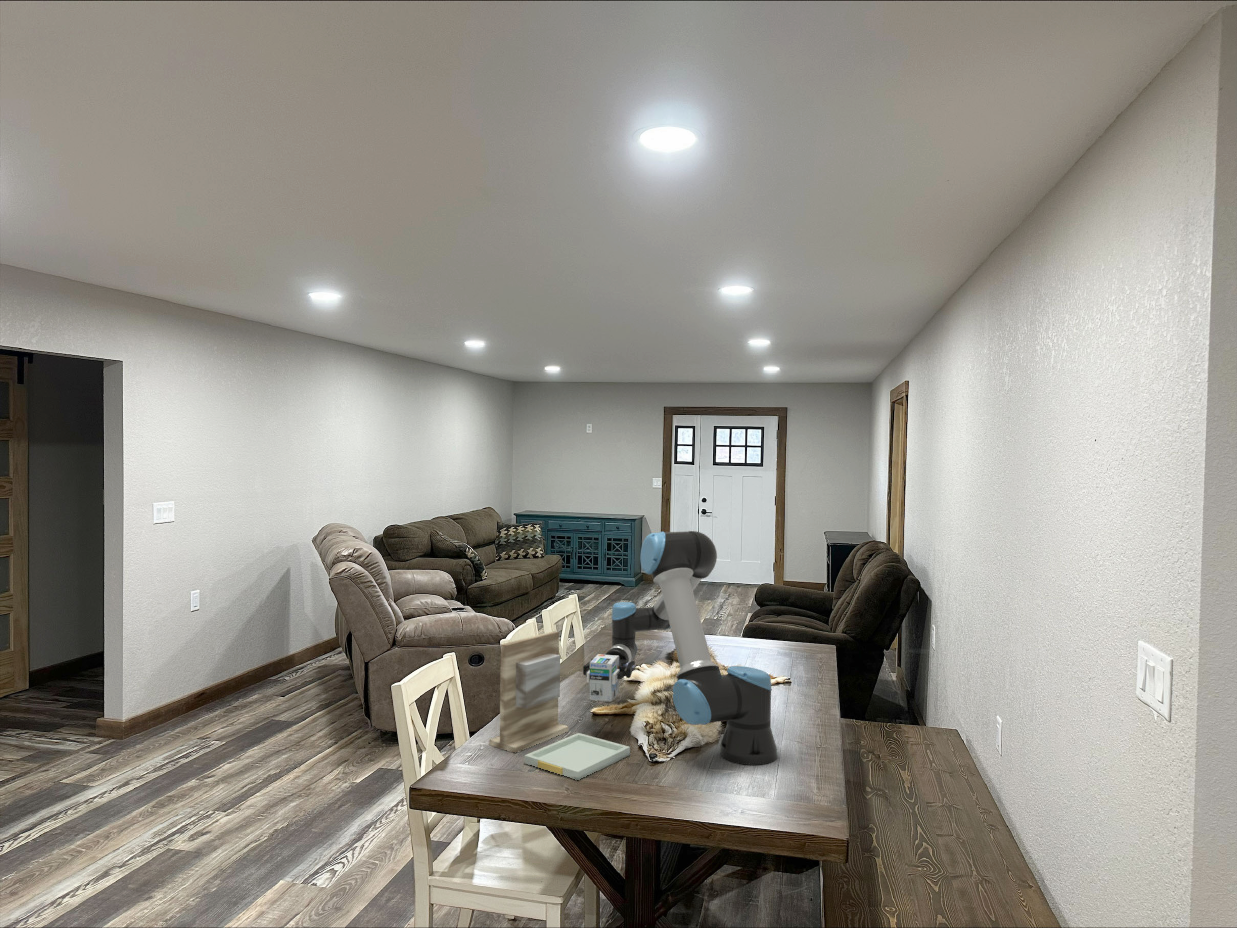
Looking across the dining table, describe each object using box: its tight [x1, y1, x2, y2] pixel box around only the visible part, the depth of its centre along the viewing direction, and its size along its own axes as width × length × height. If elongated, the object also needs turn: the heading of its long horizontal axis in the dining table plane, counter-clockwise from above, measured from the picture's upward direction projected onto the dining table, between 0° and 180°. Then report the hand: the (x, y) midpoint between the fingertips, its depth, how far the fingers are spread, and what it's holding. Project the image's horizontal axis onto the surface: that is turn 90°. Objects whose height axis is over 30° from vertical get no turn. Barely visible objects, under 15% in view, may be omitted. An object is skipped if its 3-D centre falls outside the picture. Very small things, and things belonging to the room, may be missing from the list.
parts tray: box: [523, 732, 631, 781], centre depth 213 cm, size 18×22×2 cm
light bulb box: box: [589, 653, 620, 702], centre depth 232 cm, size 11×7×11 cm, turn 168°
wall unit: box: [488, 630, 569, 754], centre depth 229 cm, size 10×22×28 cm, turn 143°
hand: (600, 678), depth 227 cm, fingers closed on light bulb box, 7 cm apart
